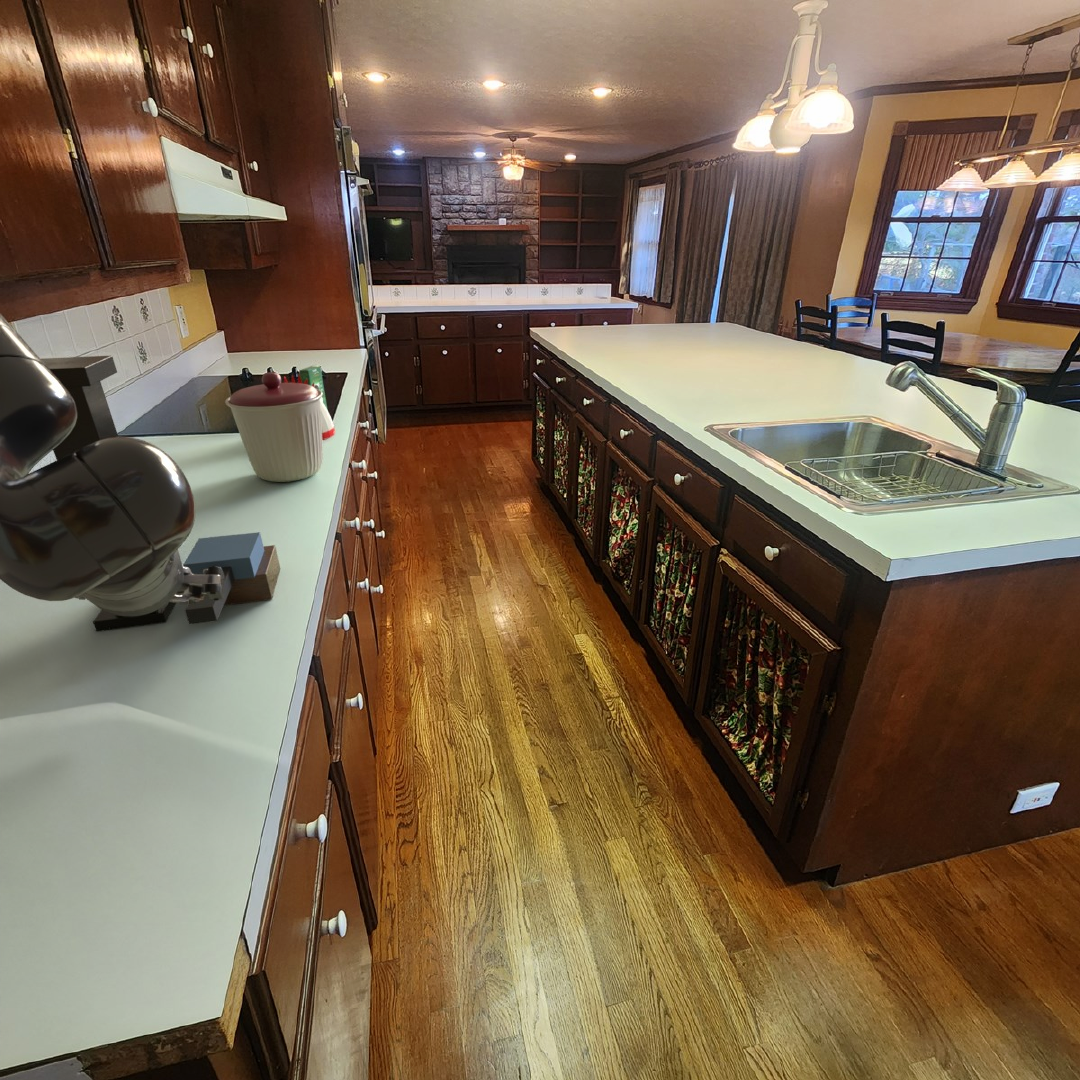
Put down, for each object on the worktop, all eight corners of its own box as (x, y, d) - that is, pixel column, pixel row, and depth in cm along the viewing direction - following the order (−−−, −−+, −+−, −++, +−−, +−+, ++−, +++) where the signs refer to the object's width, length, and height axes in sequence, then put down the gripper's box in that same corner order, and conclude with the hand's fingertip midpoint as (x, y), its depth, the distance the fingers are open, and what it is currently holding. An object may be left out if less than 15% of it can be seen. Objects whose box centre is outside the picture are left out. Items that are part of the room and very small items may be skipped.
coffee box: (319, 410, 176) (311, 364, 171) (328, 410, 176) (321, 364, 170) (306, 417, 169) (297, 370, 163) (316, 418, 169) (307, 370, 163)
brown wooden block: (200, 608, 81) (192, 582, 79) (215, 576, 89) (208, 552, 87) (272, 599, 83) (265, 574, 81) (280, 568, 91) (275, 544, 89)
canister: (285, 457, 138) (266, 362, 129) (352, 465, 133) (337, 366, 124) (223, 483, 123) (197, 378, 114) (296, 494, 118) (275, 384, 108)
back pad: (165, 627, 70) (158, 605, 69) (204, 557, 86) (198, 538, 84) (239, 618, 72) (234, 596, 70) (264, 550, 87) (260, 531, 86)
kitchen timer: (277, 431, 157) (264, 372, 151) (332, 425, 162) (322, 367, 156) (278, 445, 146) (265, 383, 139) (337, 438, 151) (327, 377, 144)
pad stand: (96, 631, 76) (-8, 373, 62) (124, 592, 85) (38, 357, 71) (166, 622, 78) (80, 369, 64) (186, 584, 87) (115, 354, 73)
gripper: (228, 527, 54) (225, 561, 68) (23, 514, 47) (67, 554, 61) (222, 611, 52) (220, 628, 66) (9, 610, 46) (57, 629, 60)
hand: (147, 592), depth 64 cm, fingers open, 8 cm apart
